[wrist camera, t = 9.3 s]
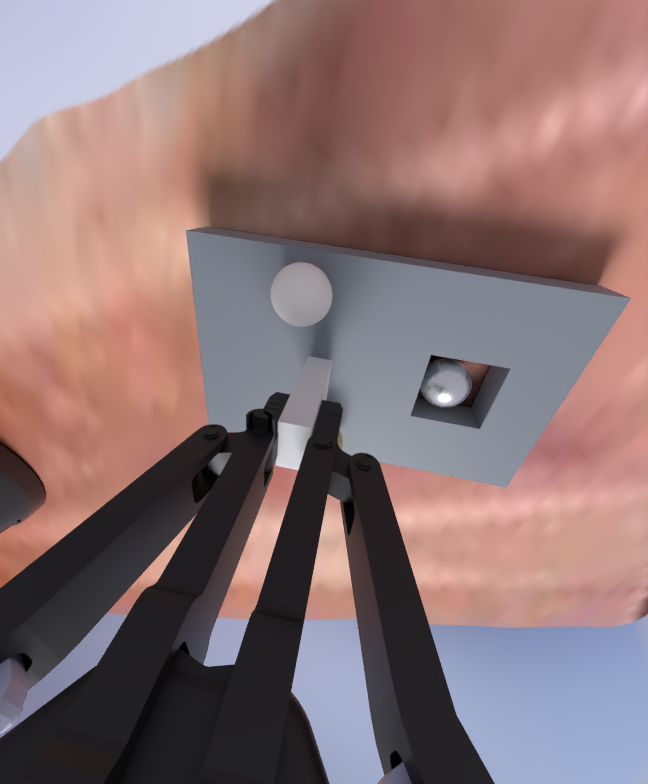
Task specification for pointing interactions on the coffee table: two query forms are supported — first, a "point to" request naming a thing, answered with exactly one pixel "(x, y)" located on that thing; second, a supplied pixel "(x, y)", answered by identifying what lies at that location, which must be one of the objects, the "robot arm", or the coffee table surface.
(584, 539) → the coffee table surface
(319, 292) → the white ball
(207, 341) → the board
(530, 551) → the coffee table surface
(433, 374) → the steel ball
